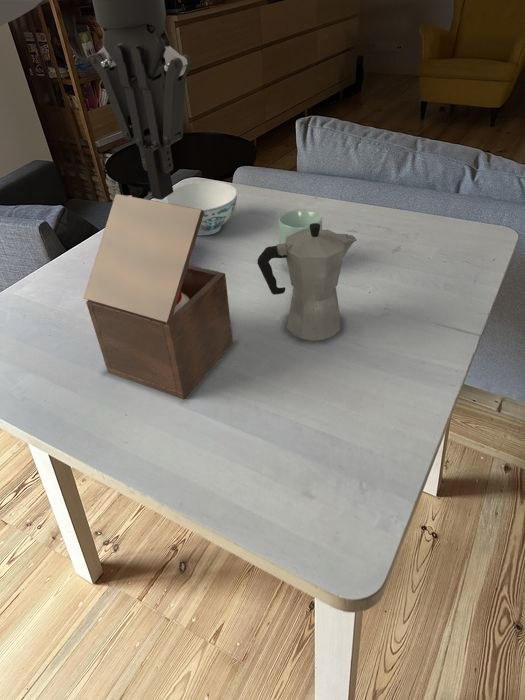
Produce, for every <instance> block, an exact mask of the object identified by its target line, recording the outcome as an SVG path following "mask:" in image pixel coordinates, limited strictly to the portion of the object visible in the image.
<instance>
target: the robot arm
mask: <svg viewBox="0 0 525 700" xmlns="http://www.w3.org/2000/svg"><path fill="white" fill-rule="evenodd" d="M49 1H50V0H0V27H2V26H5V25H6V24H9V23H10V22H12V21H14V20H16V19H18V18H19V17H21V16H23V15H25V14H26V13H28V12H31V11H32V10H34V9H36V8H38V7H40V6H42V5H44V4H46V3H47V2H49ZM165 3H166V2H165V0H92V6H93V10H94V14H95V15H94V16H95V19H96V23H97V25H98V26H100V27H101V28H102V30H103V33H102V34H103V35H102V47H101V48H100V50H98V52H96V53H92V54H90V56H89V62H90V64H91V65H92V67H93V68H94V69H95V71H96V73H97V74H98V76H99V77H100V80H101V82H102V85H103V88H104V91H105V93H106V95H107V98H108V100H109V103H110V106H111V108H112V111H113V113H114V115H115V119H116V122H117V124H118V126H119V129H120V132H121V134H122V136H123V138H124V139H125V140H126V141H130V140H131V141H133V142H134V143H135V145H136V146H137V147H138V150H139V154H140V159H141V164H142V165H141V166H142V168H143V170H144V171H146V173H147V178H148V182H149V188H150V193H151V197H152V199H155V200H160V201H162V200H164V199H166V197H167V196H168V195H170V194H171V193H173V189H174V187H173V186H174V185H173V180H172V175H171V171H174V162H173V156H172V150H171V149H172V148H171V145H173V144H174V143H176V142H178V141H180V140H182V139H183V136H184V119H185V99H186V82H187V81H186V79H187V74H188V73H189V71H190V68H191V65H192V58H191V57H190V55H188V54H183V55H181V54H180V53H179V52H178V51H177V50H175V48H173V47H172V42H171V39H170V37H169V35H168V33H167V30H166V27H165V26H166V24H165V23H166V19H167V12H166V4H165ZM165 72H166V73H165Z"/></svg>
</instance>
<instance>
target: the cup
mask: <svg viewBox="0 0 525 700" xmlns="http://www.w3.org/2000/svg"><path fill="white" fill-rule="evenodd" d="M277 223H278V224H277V226H278V227H277V229H278V244H283V243H285V242H286V237H287V236H290V235H292V234H295V233H297V232H299V231H302V230H304V229H310V224H312V223H318V224H320V229H321V230H323V218H322V216H321V214H320V213H318V212H316V211H314V210H310V209H305V208H302V209H301V208H299V209H292V210H288V211H286V212H284V213H282V214H281V215H280V216H279V217H278V222H277ZM281 261H282V263H283V266H284V267H286V268H287V269H288V265H287V259H286V258H281Z"/></svg>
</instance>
